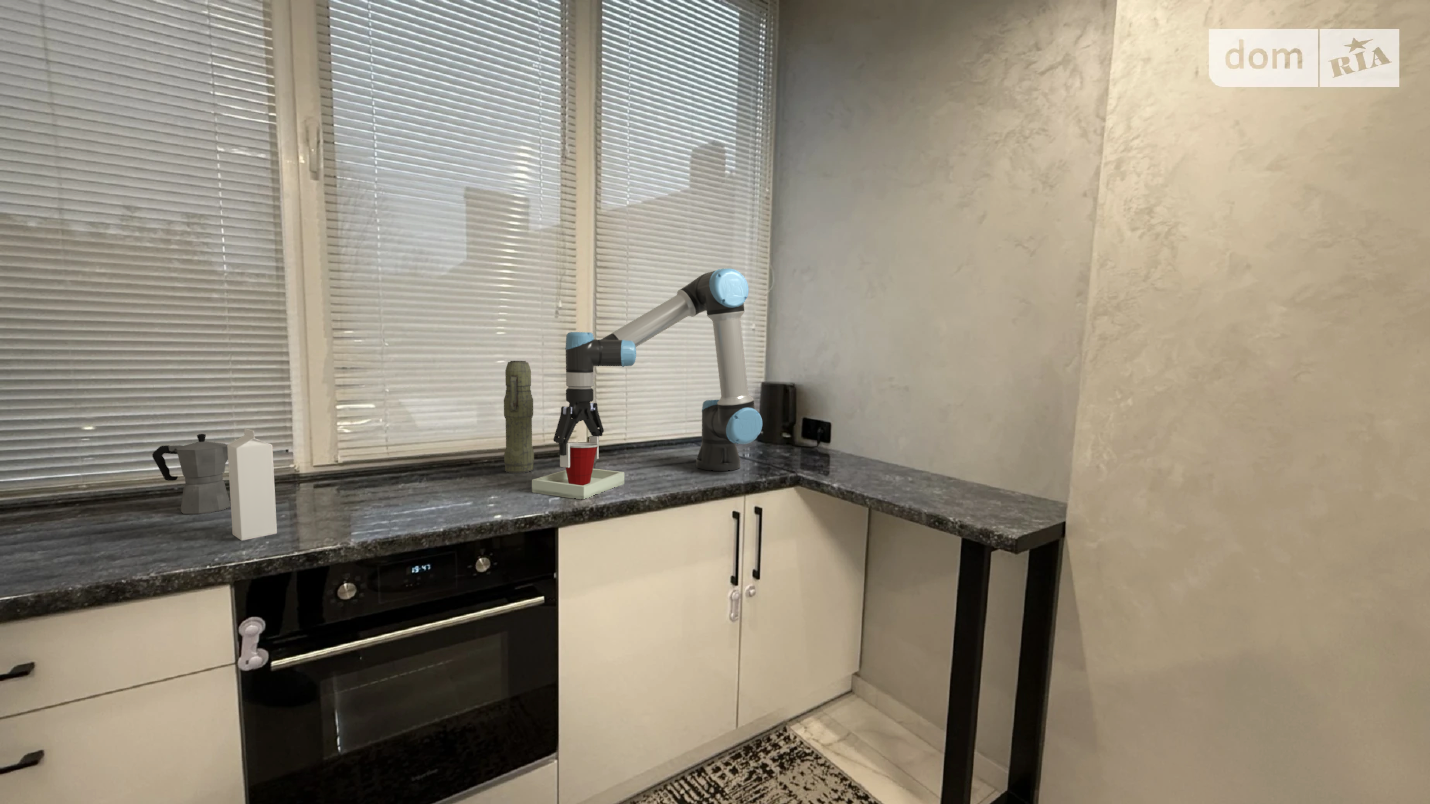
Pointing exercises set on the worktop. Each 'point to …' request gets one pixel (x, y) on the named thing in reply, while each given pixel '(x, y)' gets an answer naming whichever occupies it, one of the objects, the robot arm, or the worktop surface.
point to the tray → (560, 486)
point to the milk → (251, 487)
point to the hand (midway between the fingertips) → (580, 462)
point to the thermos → (518, 418)
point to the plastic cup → (581, 463)
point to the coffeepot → (199, 474)
